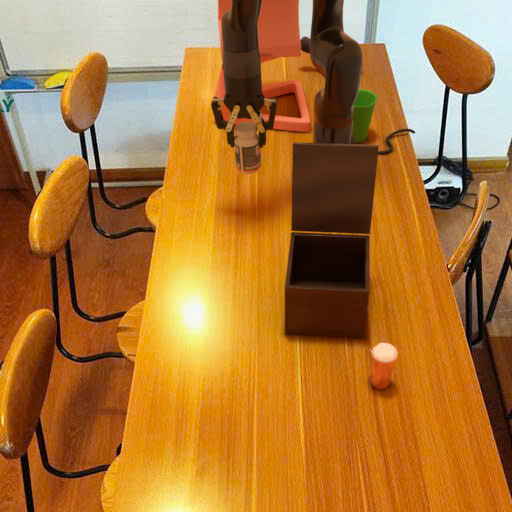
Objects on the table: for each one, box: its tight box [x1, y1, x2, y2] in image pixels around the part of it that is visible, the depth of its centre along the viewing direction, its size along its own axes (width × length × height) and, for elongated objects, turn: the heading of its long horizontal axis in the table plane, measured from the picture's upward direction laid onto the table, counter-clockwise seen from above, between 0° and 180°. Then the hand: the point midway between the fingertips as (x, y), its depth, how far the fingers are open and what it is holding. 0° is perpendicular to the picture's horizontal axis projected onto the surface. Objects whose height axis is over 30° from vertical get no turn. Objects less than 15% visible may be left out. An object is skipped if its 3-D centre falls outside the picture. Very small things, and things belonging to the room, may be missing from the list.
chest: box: [284, 231, 371, 340], centre depth 137 cm, size 17×16×12 cm
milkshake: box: [368, 342, 399, 390], centre depth 124 cm, size 4×5×10 cm
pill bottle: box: [233, 121, 262, 175], centre depth 150 cm, size 6×6×10 cm
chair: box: [213, 0, 311, 133], centre depth 178 cm, size 24×26×35 cm
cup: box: [352, 88, 379, 144], centre depth 178 cm, size 9×9×11 cm
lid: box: [290, 141, 380, 235], centre depth 131 cm, size 17×16×1 cm
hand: (247, 145), depth 150 cm, fingers closed on pill bottle, 5 cm apart
